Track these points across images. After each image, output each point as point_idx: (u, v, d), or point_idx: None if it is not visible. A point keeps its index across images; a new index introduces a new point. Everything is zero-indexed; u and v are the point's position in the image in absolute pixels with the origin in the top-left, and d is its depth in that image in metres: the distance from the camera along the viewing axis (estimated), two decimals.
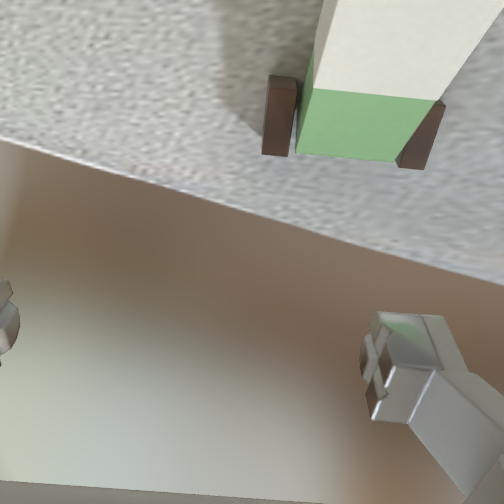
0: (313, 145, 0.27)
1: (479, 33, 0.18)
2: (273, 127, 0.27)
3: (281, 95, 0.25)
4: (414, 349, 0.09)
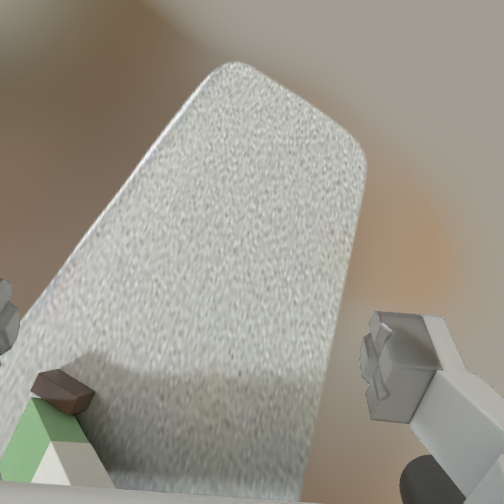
0: (28, 414, 0.36)
1: None
2: (53, 389, 0.36)
3: (70, 403, 0.36)
4: (414, 349, 0.09)
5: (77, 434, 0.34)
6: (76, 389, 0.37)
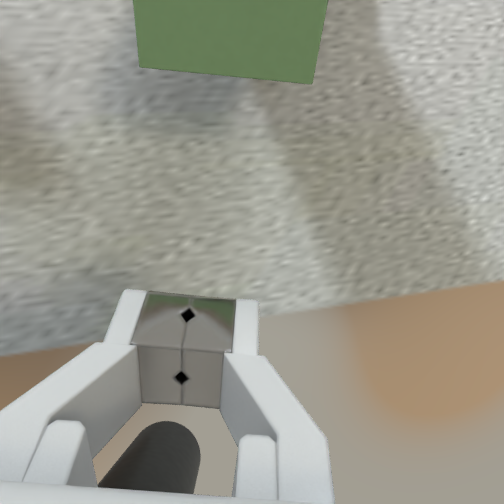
0: None
1: None
2: None
3: None
4: (211, 332, 0.09)
5: None
6: None
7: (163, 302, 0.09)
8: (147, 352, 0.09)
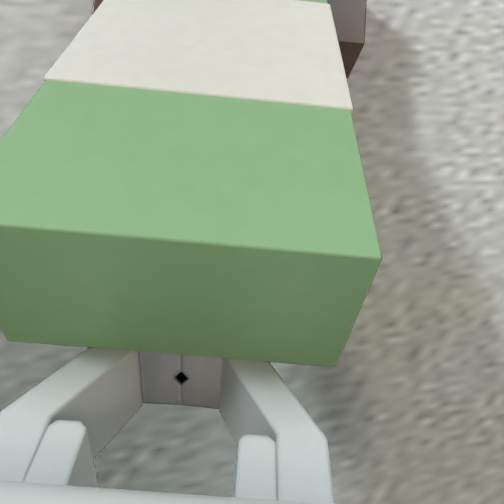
0: None
1: (81, 41, 0.10)
2: None
3: (345, 33, 0.17)
4: None
5: None
6: None
7: None
8: (148, 352, 0.09)
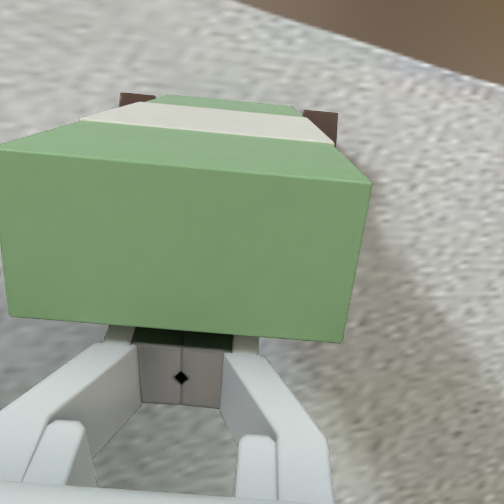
0: (274, 105, 0.21)
1: (109, 112, 0.12)
2: None
3: None
4: (211, 333, 0.09)
5: None
6: None
7: None
8: (147, 352, 0.09)
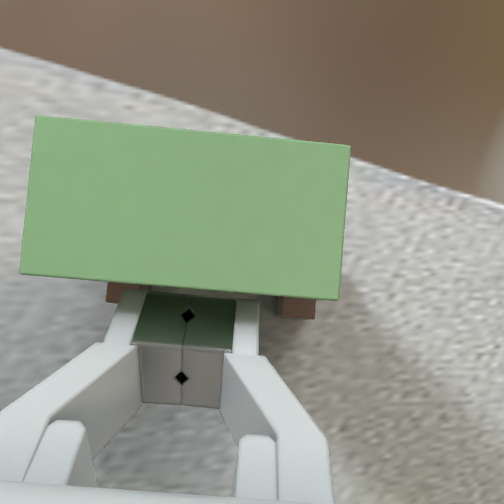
0: None
1: None
2: None
3: (299, 310, 0.22)
4: (211, 332, 0.09)
5: None
6: None
7: (163, 302, 0.09)
8: (147, 352, 0.09)
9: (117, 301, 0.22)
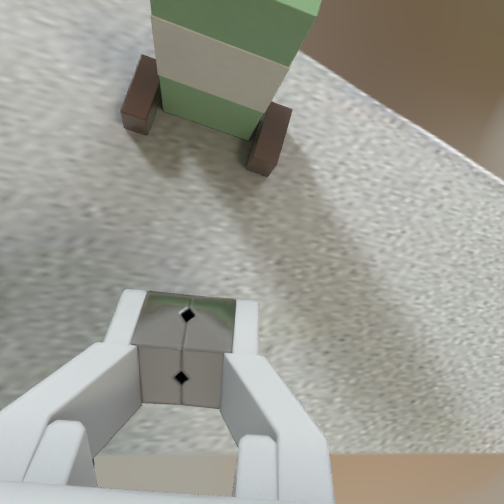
0: None
1: None
2: (278, 131, 0.29)
3: (267, 156, 0.29)
4: (211, 332, 0.09)
5: None
6: None
7: (163, 302, 0.09)
8: (147, 352, 0.09)
9: (129, 113, 0.27)
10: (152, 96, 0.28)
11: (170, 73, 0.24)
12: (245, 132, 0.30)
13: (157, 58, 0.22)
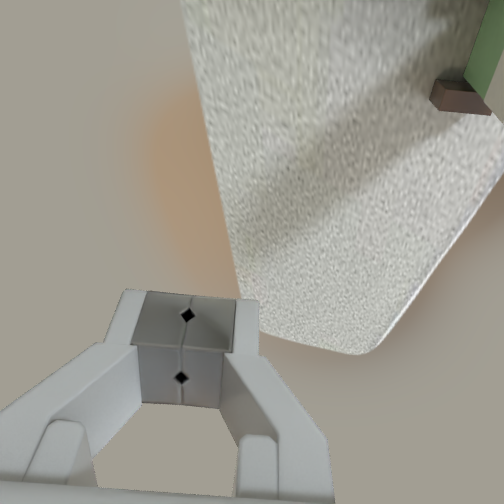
0: None
1: None
2: (470, 106, 0.34)
3: (446, 101, 0.34)
4: (211, 332, 0.09)
5: None
6: None
7: (163, 302, 0.09)
8: (147, 352, 0.09)
9: None
10: None
11: None
12: (469, 76, 0.34)
13: None
